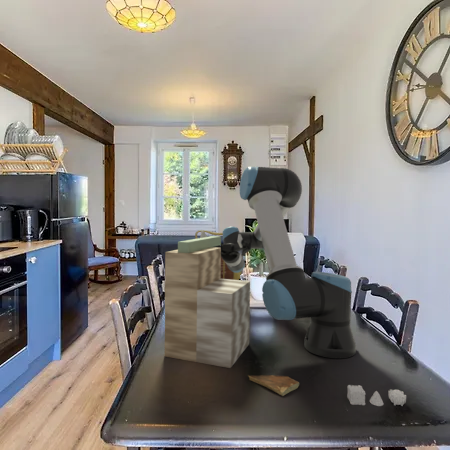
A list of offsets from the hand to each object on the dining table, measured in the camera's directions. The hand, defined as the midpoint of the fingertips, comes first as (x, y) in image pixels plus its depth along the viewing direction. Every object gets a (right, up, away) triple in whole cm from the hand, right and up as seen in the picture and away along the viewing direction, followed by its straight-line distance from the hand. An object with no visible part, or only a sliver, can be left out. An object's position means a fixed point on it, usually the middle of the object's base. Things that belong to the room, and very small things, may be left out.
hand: (220, 236), depth 122 cm
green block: (-6, -3, -12) cm, 14 cm away
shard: (+13, -36, -39) cm, 54 cm away
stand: (-3, -34, -18) cm, 38 cm away
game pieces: (+35, -36, -45) cm, 68 cm away
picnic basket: (-3, -30, +86) cm, 91 cm away
